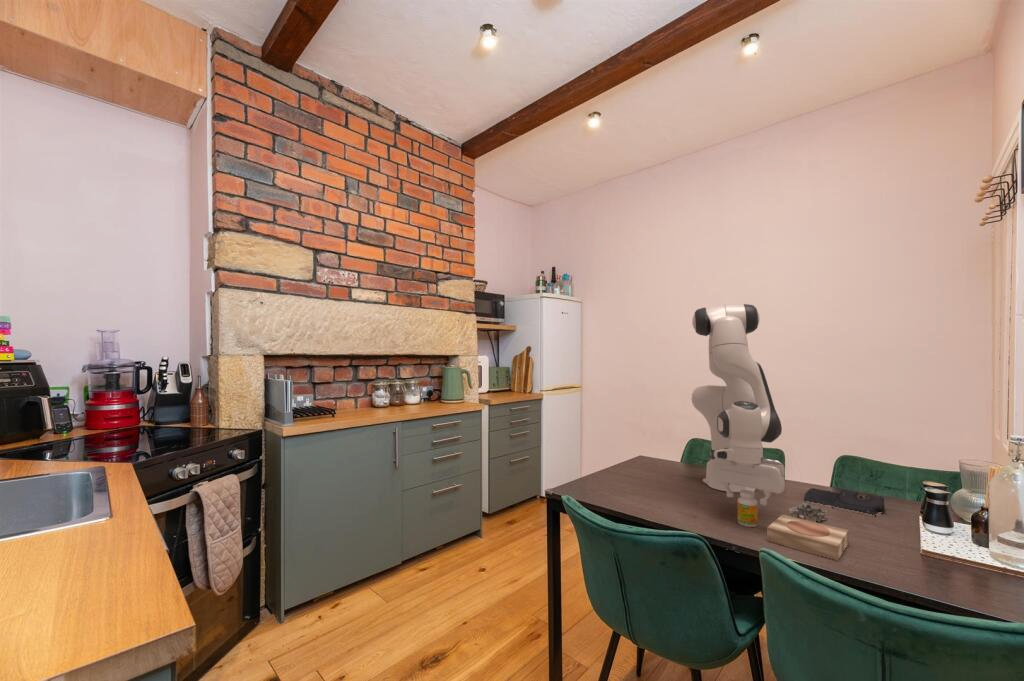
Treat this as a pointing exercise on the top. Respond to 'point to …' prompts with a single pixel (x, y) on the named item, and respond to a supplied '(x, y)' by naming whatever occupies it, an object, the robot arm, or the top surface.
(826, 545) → the birch base
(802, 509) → the grey gravel pile
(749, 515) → the supplement bottle
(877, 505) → the dark slate chunk
